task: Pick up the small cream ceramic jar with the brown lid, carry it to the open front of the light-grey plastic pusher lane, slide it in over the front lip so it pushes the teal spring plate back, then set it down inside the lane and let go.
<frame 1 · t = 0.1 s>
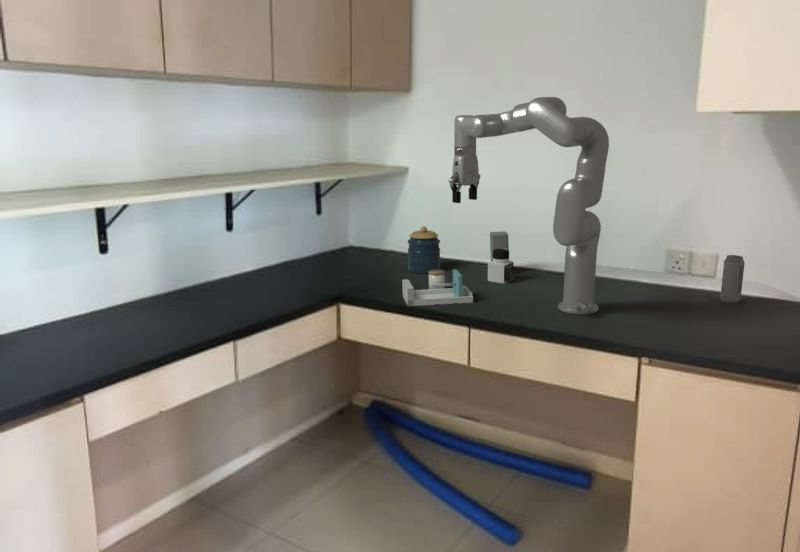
hand: (464, 201, 242), 31 cm above the worktop, tool pointing down, fingers open, 9 cm apart
canister: (424, 270, 275), on the worktop
jar: (436, 290, 245), on the worktop
medicine bottle: (500, 281, 257), on the worktop
skincare box: (499, 273, 269), on the worktop
lane: (437, 299, 234), on the worktop
energy drink can: (730, 301, 226), on the worktop
pusher: (445, 284, 233), point 5 cm above the worktop, slide at 0.0 cm
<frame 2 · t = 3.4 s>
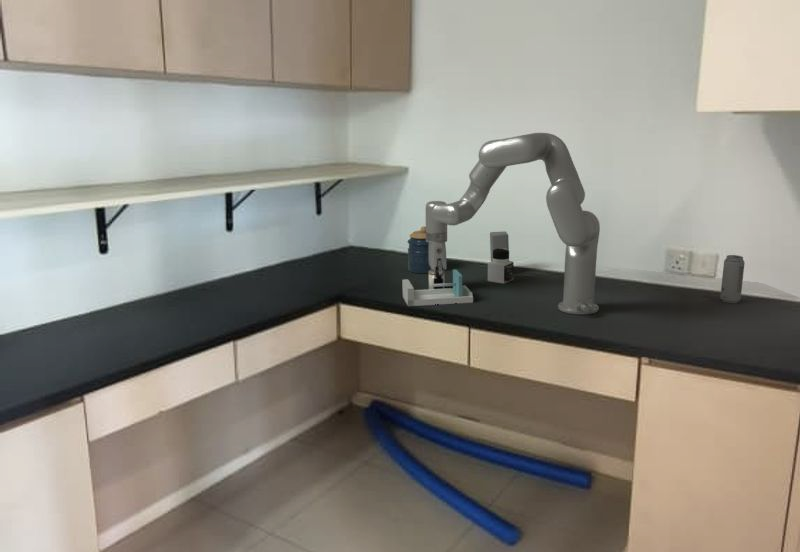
hand: (436, 286, 244), 2 cm above the worktop, tool pointing down, fingers closed on jar, 5 cm apart
jar: (436, 290, 245), on the worktop, touching gripper
everything else where it was.
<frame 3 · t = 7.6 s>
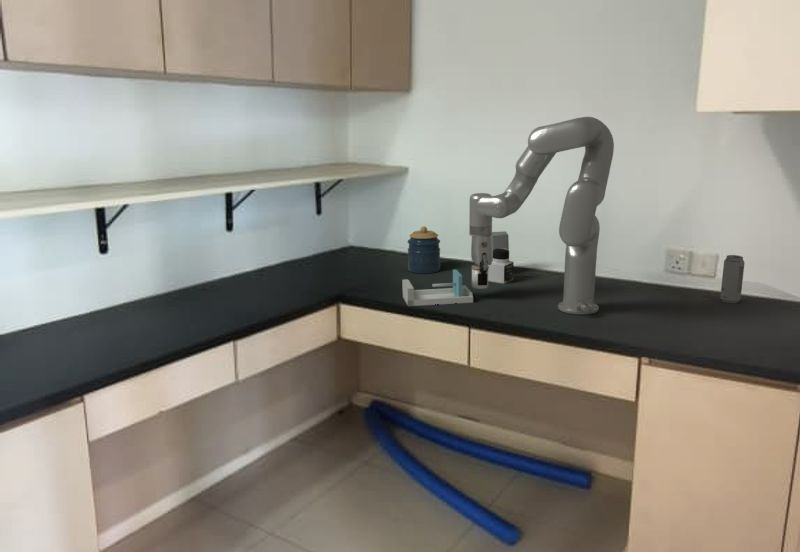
hand: (480, 282, 234), 5 cm above the worktop, tool pointing down, fingers closed on jar, 5 cm apart
jar: (479, 286, 235), point 4 cm above the worktop, touching gripper
everything else where it was.
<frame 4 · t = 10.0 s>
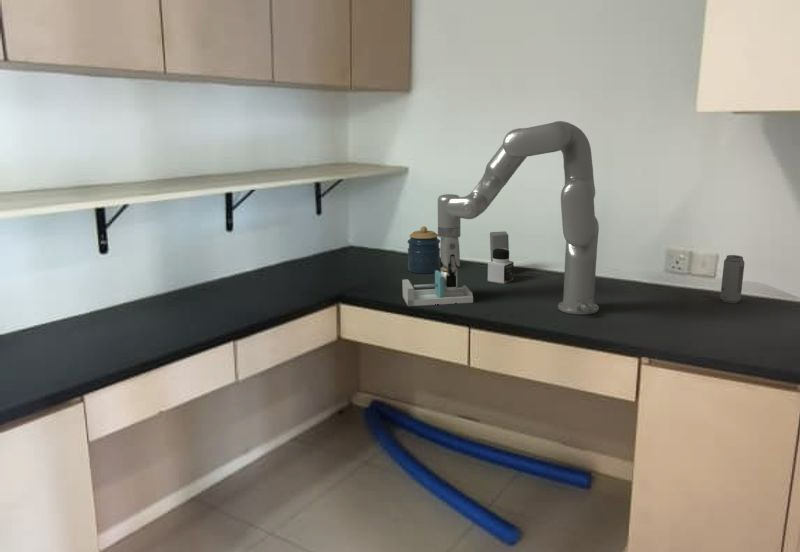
hand: (449, 284, 233), 5 cm above the worktop, tool pointing down, fingers closed on jar, 5 cm apart
jar: (449, 288, 233), point 4 cm above the worktop, touching gripper, pusher
pusher: (427, 285, 232), point 5 cm above the worktop, slide at 6.3 cm, touching jar
everything else where it was.
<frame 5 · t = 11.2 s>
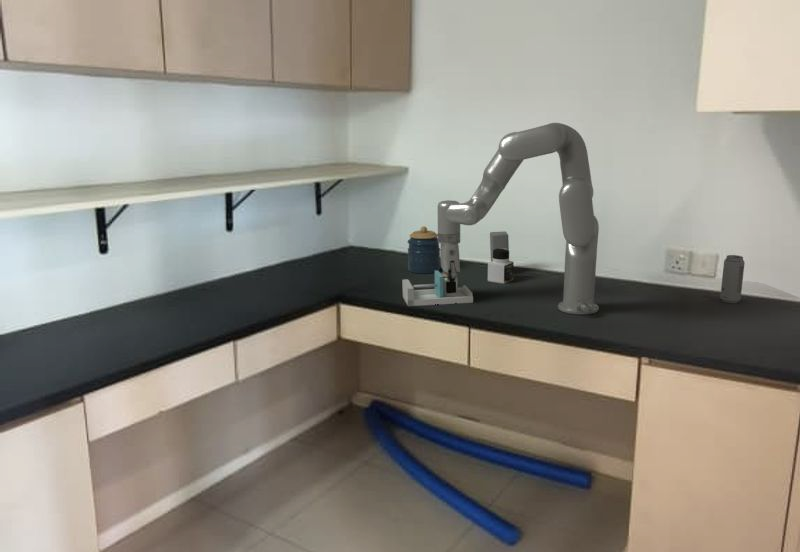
hand: (449, 289, 234), 3 cm above the worktop, tool pointing down, fingers closed on jar, 5 cm apart
jar: (449, 294, 234), point 2 cm above the worktop, touching gripper, pusher
everything else where it was.
when the fingers open (3 cm above the worktop, at t = 11.6 s): jar drops 1 cm, resting on lane, pusher.
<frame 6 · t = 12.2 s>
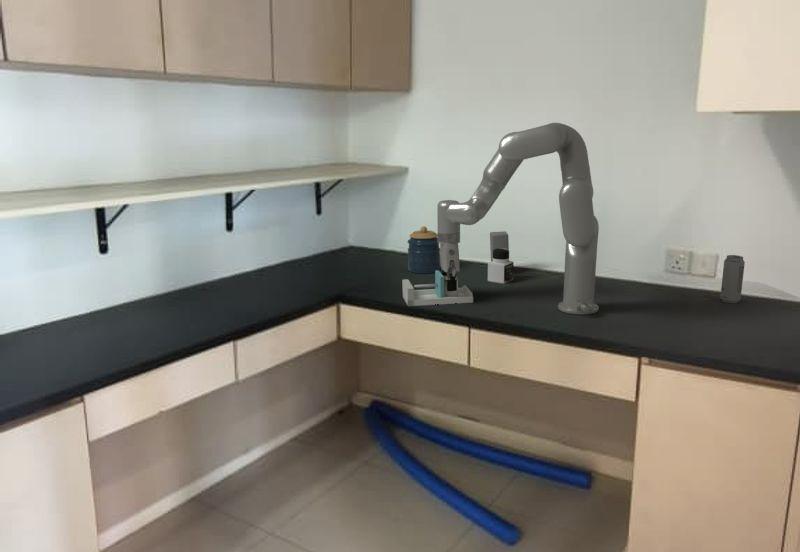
hand: (448, 287, 233), 4 cm above the worktop, tool pointing down, fingers open, 9 cm apart
jar: (449, 297, 234), resting on lane, pusher
everything else where it was.
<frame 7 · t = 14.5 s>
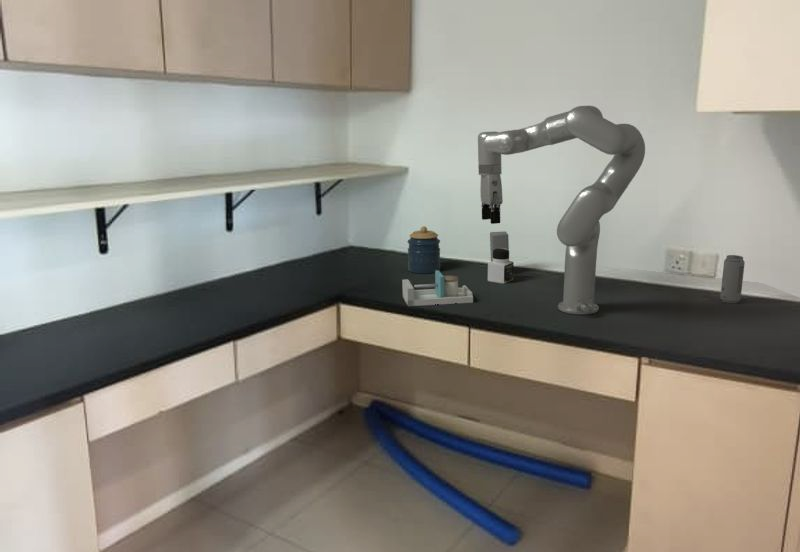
hand: (490, 221, 231), 26 cm above the worktop, tool pointing down, fingers open, 9 cm apart
nothing on the worktop moved.
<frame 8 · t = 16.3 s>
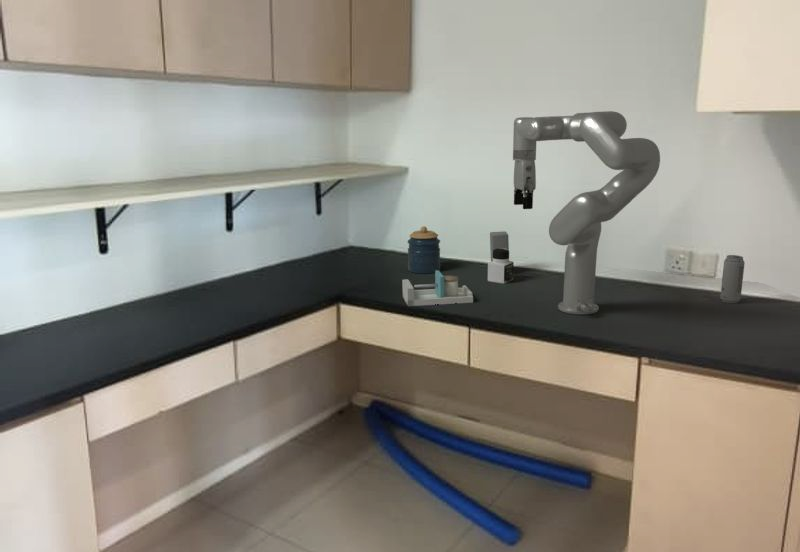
hand: (523, 206, 232), 30 cm above the worktop, tool pointing down, fingers open, 9 cm apart
jar: (449, 297, 234), resting on lane
pusher: (427, 285, 232), point 5 cm above the worktop, slide at 6.2 cm
everything else where it was.
at the end: jar inside the target area on the lane (0.7 cm from its centre), point 0.4 cm above the lane's base; jar tilted 0°; the gripper is holding nothing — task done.
